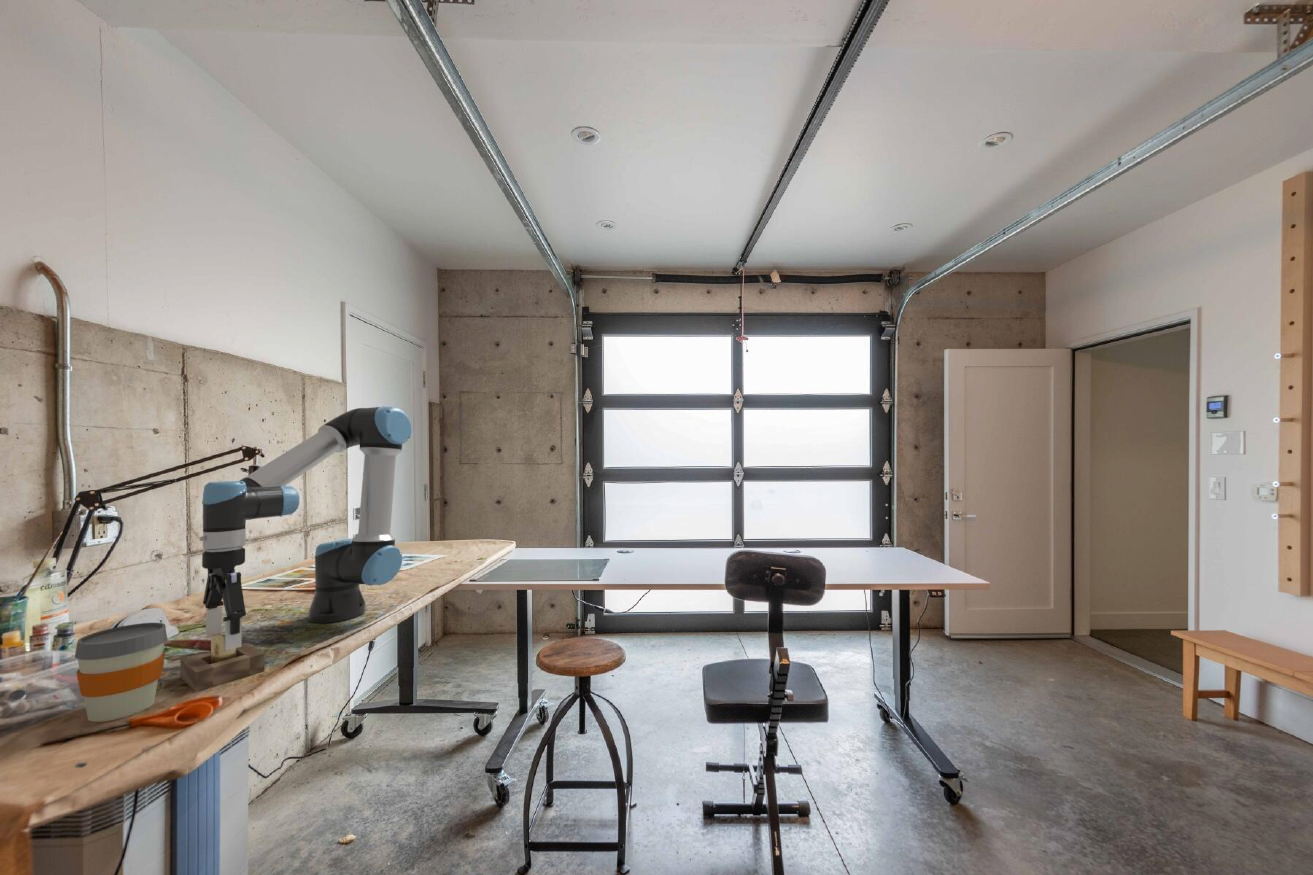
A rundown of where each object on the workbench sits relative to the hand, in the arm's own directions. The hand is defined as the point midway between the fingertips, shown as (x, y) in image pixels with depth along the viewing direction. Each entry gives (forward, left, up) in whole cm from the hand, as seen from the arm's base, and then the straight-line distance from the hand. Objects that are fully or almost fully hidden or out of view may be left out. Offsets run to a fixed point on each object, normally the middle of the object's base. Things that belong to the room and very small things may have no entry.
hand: (223, 642), depth 115 cm
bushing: (0, 0, -7) cm, 7 cm away
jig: (0, 0, -7) cm, 7 cm away
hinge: (+6, -42, -8) cm, 43 cm away
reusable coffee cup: (+16, +4, -7) cm, 18 cm away
